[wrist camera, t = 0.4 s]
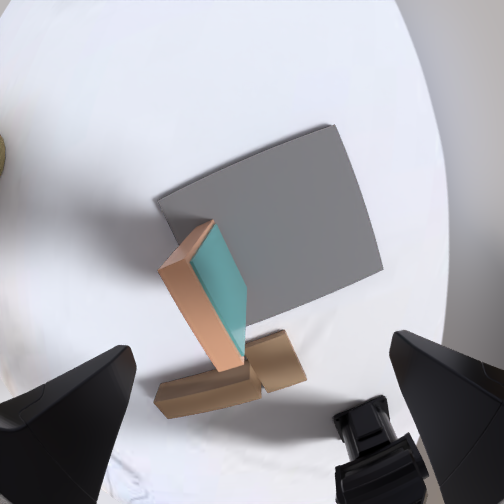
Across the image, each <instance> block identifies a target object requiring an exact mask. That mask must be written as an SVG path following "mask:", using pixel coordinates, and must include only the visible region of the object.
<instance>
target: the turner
mask: <svg viewBox="0 0 504 504" xmlns="http://www.w3.org/2000/svg"><path fill="white" fill-rule="evenodd" d="M245 356H246V358H247V360H244V365H241V366H238V367H235V368H231V369H228V370H225V371H221V372H218V370H217V369H214V370H211V371H207V372H204V373H200V374H197V375H193V376H189V377H185V378H182V379H178V380H174V381H169V382H165V383H161V384H160V386H159V389H158V391H157V394H156V397H155V399H154V402H153V403H154V404H155V405H156V406H157V407H158V409H159V410H160V411H161V412H162V413H163V414H164V415H165V416H166V417H167V419H172V418H178V417H183V416H189V415H194V414H199V413H204V412H209V411H213V410H218V409H222V408H226V407H231V406H235V405H239V404H242V403H246V402H250V401H253V400H257V399H261V398H262V397H261V383H262V385H263V386H264V388H265V390H266V391H267V393H270V392H273V391H276V390H279V389H283V388H286V387H289V386H292V385H295V384H298V383H300V382H303V381H306V380H307V378H306V375H305V373H304V370H303V368H302V366H301V364H300V362H299V360H298V357H297V355H296V353H295V351H294V349H293V347H292V344H291V342H290V340H289V338H288V336H287V334H286V331H285V330H282V331H280V332H277V333H274V334H272V335H269V336H266V337H263V338H261V339H258V340H255V341H252V342H249V343H246V344H245Z"/></svg>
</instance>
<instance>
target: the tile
mask: <svg viewBox="0 0 504 504" xmlns="http://www.w3.org/2000/svg"><path fill="white" fill-rule="evenodd" d="M157 271H158V273H159V274H160V276H161V278H162V280H163V282H164V284H165V285H166V287H167V289H168V291H169V292H170V294H171V296H172V298H173V299H174V301H175V303H176V305H177V306H178V308H179V310H180V312H181V313H182V315H183V317H184V318H185V320H186V322H187V323H188V325H189V327H190V328H191V330H192V331H193V333H194V335H195V336H196V338H197V340H198V341H199V343H200V344H201V346H202V347H203V349H204V351H205V352H206V354H207V355H208V357H209V358H210V360H211V361H212V363H213V364H214V366H215V367H216V369H217V370H218V372H221V371H225V370H228V369H231V368H235V367H238V366H241V365H244V354H245V328H246V302H247V286H246V284H245V282H244V280H243V278H242V276H241V274H240V272H239V270H238V268H237V266H236V264H235V262H234V259H233V257H232V255H231V253H230V251H229V249H228V247H227V245H226V243H225V240H224V238H223V236H222V234H221V232H220V230H219V228H218V226H217V224H216V223H215V222H214V220H213V219H212V220H210V221H208V222H206V223H204V224H201V225H199V226H197V227H196V228H195V229H194V230H193V231H192V232H191V233H190V234H189V235H188V236H187V237H186V238H185V240H184V241H183V242H182V243H181V244H180V245H179V246H178V247H177V249H176V250H175V251H174V252H173V253H172V254H171V255H170V256H169V258H168V259H167V260H166V261H165V262H164V263H163V264H162V266H161V267H160V268H159V269H158V270H157Z"/></svg>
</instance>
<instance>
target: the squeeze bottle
mask: <svg viewBox="0 0 504 504" xmlns="http://www.w3.org/2000/svg"><path fill="white" fill-rule="evenodd" d="M4 162H5V145H4V141H3V138H2V137H1V135H0V176H1V173H2V171H3V167H4Z"/></svg>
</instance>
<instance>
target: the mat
mask: <svg viewBox="0 0 504 504" xmlns="http://www.w3.org/2000/svg"><path fill="white" fill-rule="evenodd" d="M158 203H159V205H160V207H161V209H162V211H163V213H164V216H165V218H166V220H167V222H168V224H169V226H170V228H171V230H172V232H173V234H174V236H175V238H176V240H177V242H178V244H179V245H180V244H181V243H182V242H183V241H184V240H185V238H186V237H187V236H188V235H189V234H190V233H191V232H192V231H193V230H194V229H195V228H196V227H197V226H199V225H201V224H204V223H206V222H208V221H210V220H212V219H213V220H214V222H215V223H216V224H217V226H218V228H219V230H220V232H221V234H222V236H223V238H224V240H225V243H226V245H227V247H228V249H229V251H230V253H231V255H232V257H233V259H234V262H235V264H236V266H237V268H238V270H239V272H240V274H241V276H242V278H243V280H244V282H245V284H246V286H247V302H246V326H249V325H252V324H254V323H257V322H260V321H263V320H265V319H268V318H270V317H273V316H276V315H278V314H281V313H283V312H286V311H289V310H291V309H294V308H296V307H299V306H301V305H304V304H306V303H309V302H311V301H313V300H316V299H318V298H321V297H323V296H325V295H328V294H330V293H332V292H335V291H337V290H339V289H342V288H344V287H346V286H349V285H351V284H353V283H355V282H358V281H360V280H362V279H364V278H366V277H369V276H371V275H373V274H375V273H377V272H379V271H382V270H384V269H383V265H382V261H381V257H380V254H379V250H378V246H377V242H376V239H375V235H374V232H373V228H372V225H371V222H370V218H369V215H368V212H367V209H366V206H365V203H364V200H363V197H362V194H361V191H360V188H359V185H358V182H357V179H356V176H355V174H354V171H353V168H352V165H351V163H350V160H349V158H348V155H347V152H346V150H345V147H344V145H343V142H342V140H341V138H340V135H339V133H338V130H337V128H336V126H335V125H332V126H329V127H326V128H323V129H320V130H317V131H315V132H312V133H309V134H306V135H304V136H301V137H298V138H296V139H293V140H290V141H288V142H285V143H283V144H280V145H278V146H275V147H273V148H270V149H268V150H265V151H263V152H260V153H258V154H256V155H253V156H251V157H248V158H246V159H244V160H241V161H239V162H237V163H235V164H232V165H230V166H228V167H226V168H223V169H221V170H219V171H217V172H215V173H212V174H210V175H208V176H206V177H204V178H202V179H200V180H198V181H196V182H194V183H191V184H189V185H187V186H185V187H183V188H181V189H179V190H177V191H175V192H173V193H171V194H169V195H167V196H166V197H164V198H162V199H160V200H158Z"/></svg>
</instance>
